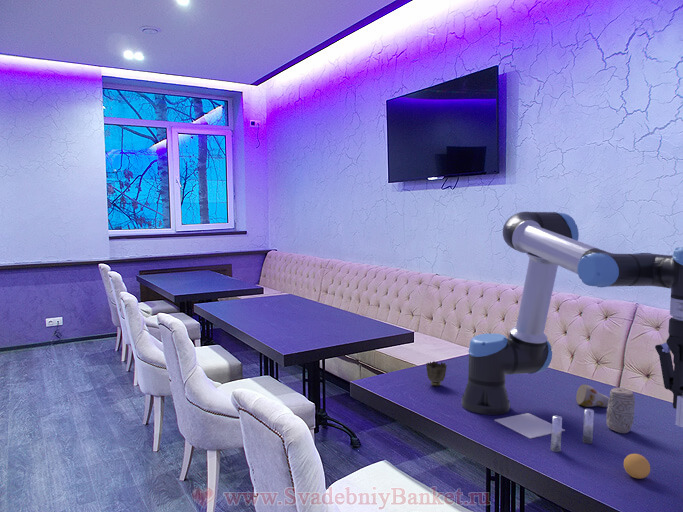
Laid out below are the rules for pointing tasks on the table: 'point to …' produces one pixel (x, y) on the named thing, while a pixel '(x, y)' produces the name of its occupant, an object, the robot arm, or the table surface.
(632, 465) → the ball
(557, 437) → the post
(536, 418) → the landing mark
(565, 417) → the table surface
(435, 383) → the cup
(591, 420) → the post
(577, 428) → the table surface
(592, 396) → the mug
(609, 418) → the carving
